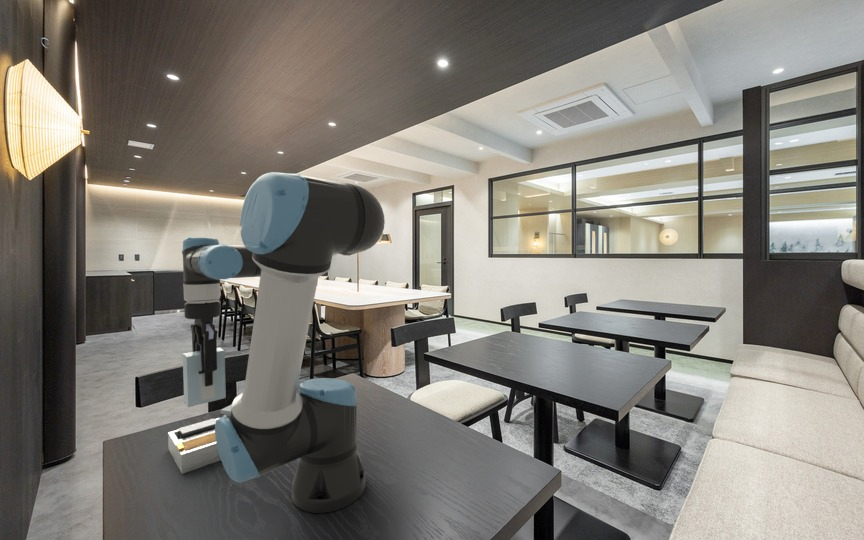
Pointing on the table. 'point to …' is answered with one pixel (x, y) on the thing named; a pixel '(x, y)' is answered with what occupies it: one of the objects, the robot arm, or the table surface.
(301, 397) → the robot arm
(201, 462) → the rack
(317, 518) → the table surface
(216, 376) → the block
